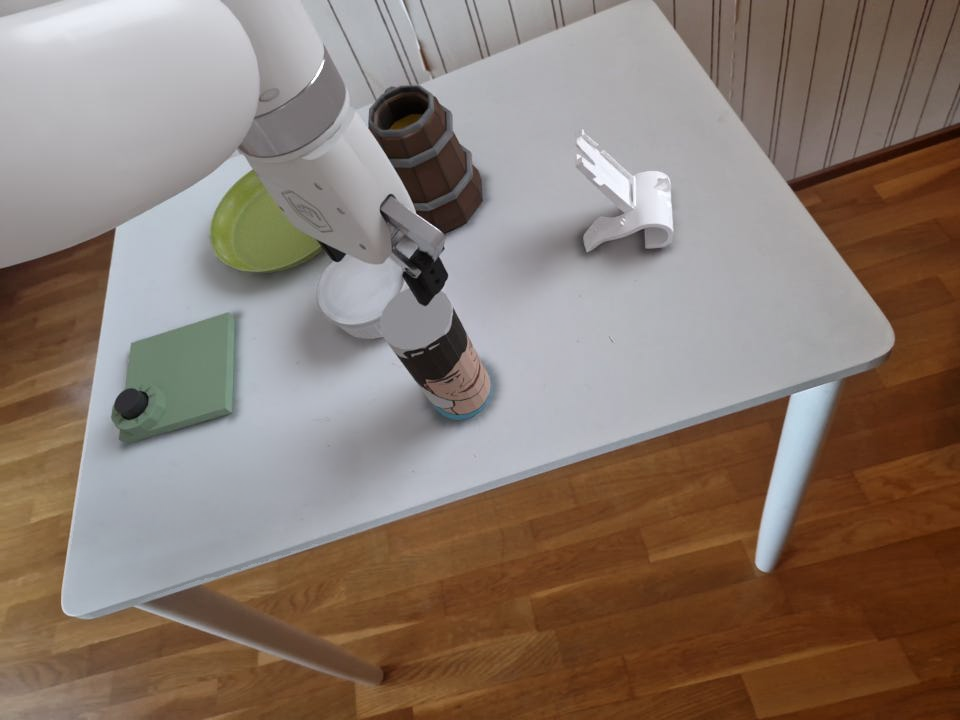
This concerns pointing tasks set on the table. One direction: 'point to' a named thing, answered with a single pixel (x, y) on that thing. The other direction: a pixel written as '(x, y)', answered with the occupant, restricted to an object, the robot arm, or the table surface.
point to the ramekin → (359, 294)
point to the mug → (427, 155)
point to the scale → (180, 378)
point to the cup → (437, 353)
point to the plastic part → (626, 198)
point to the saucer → (257, 231)
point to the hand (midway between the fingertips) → (389, 269)
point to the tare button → (131, 403)
